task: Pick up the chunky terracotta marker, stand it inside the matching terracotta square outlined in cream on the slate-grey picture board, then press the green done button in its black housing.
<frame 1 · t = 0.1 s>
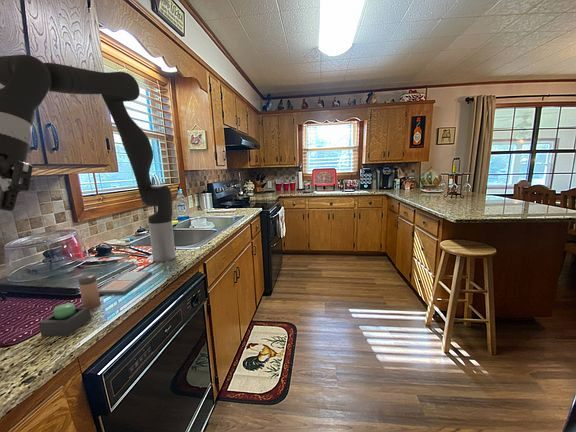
picture board: (125, 283, 88), on the worktop
done button: (64, 310, 62), point 5 cm above the worktop, slide at 0.0 cm
terracotta marker: (92, 306, 73), on the worktop
button housing: (67, 326, 63), on the worktop
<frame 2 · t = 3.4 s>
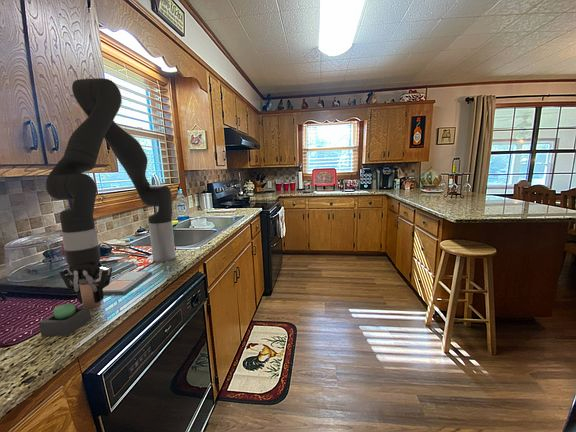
hand: (91, 301, 73), 1 cm above the worktop, tool pointing down, fingers closed on terracotta marker, 4 cm apart
terracotta marker: (92, 305, 73), on the worktop, touching gripper
everything else where it was.
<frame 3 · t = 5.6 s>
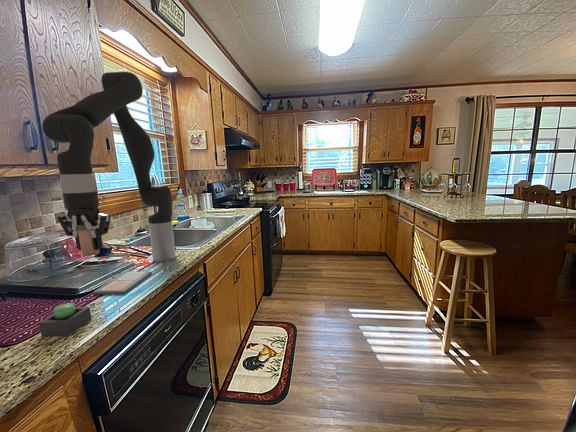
hand: (90, 249, 72), 17 cm above the worktop, tool pointing down, fingers closed on terracotta marker, 4 cm apart
terracotta marker: (91, 253, 73), point 15 cm above the worktop, touching gripper
everything else where it was.
when the fingers open (4 cm above the worktop, at t = 8.0 s): terracotta marker stays where it is, resting on picture board.
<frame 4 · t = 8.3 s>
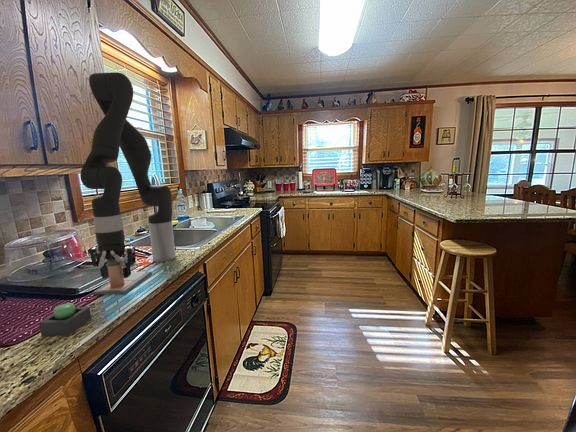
hand: (116, 277, 83), 4 cm above the worktop, tool pointing down, fingers open, 6 cm apart
terracotta marker: (117, 285, 84), point 1 cm above the worktop, touching picture board
everything else where it was.
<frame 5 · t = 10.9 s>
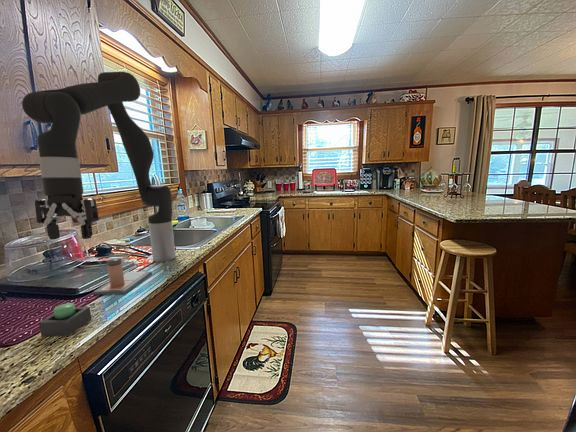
hand: (71, 238, 65), 22 cm above the worktop, tool pointing down, fingers open, 8 cm apart
nothing on the worktop moved.
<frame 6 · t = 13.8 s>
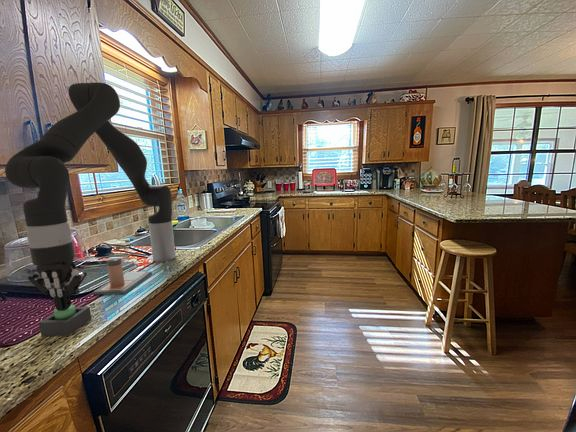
hand: (63, 308, 62), 5 cm above the worktop, tool pointing down, fingers closed
done button: (65, 312, 62), point 4 cm above the worktop, slide at 0.5 cm, touching gripper
everything else where it was.
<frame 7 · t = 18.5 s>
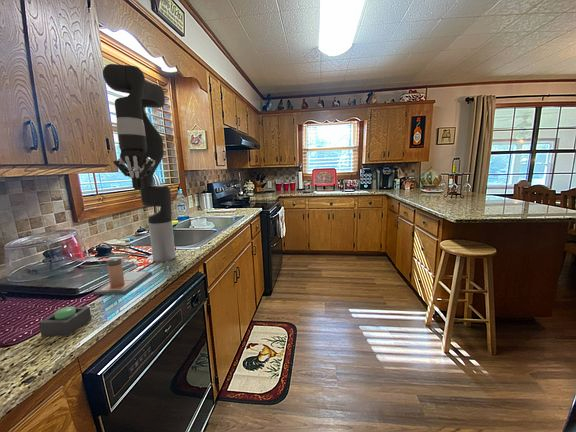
hand: (138, 189, 81), 33 cm above the worktop, tool pointing down, fingers closed
done button: (65, 314, 62), point 3 cm above the worktop, slide at 1.0 cm
everything else where it was.
at the end: terracotta marker 0.1 cm from the target spot, point 1.1 cm above the worktop; terracotta marker tilted 0°; done button slide at 1.0 cm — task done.
